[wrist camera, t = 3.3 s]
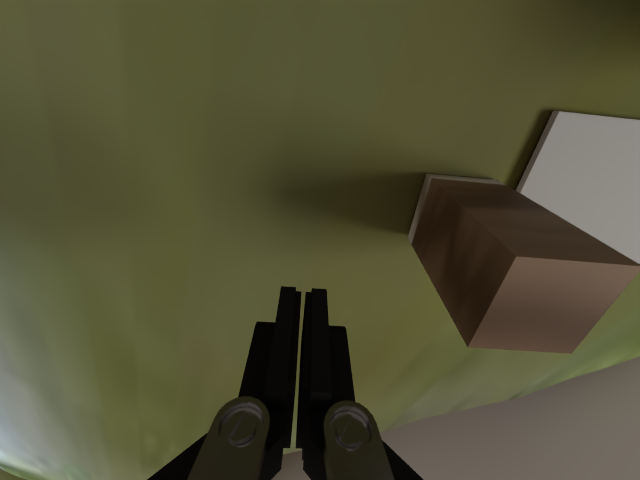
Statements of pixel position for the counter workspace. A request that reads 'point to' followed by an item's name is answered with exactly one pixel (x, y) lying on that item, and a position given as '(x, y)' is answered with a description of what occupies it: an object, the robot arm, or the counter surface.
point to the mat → (590, 176)
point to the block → (513, 266)
